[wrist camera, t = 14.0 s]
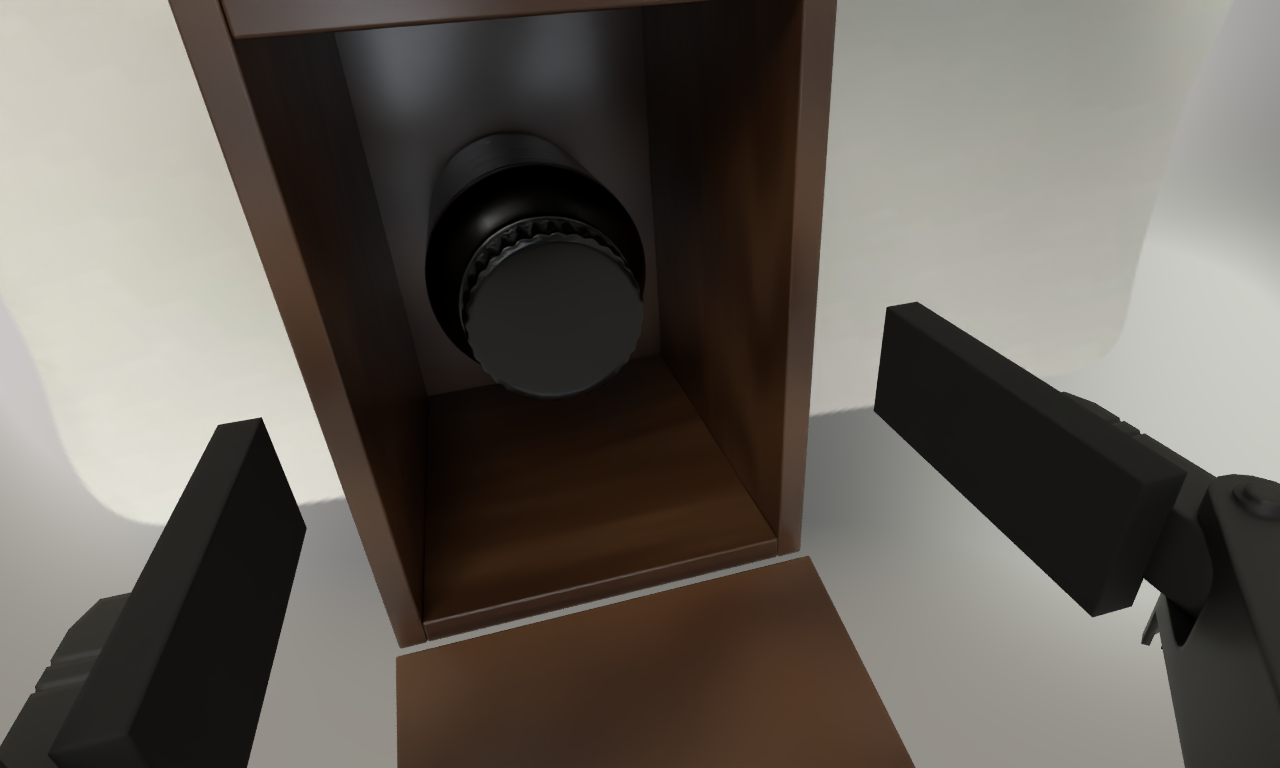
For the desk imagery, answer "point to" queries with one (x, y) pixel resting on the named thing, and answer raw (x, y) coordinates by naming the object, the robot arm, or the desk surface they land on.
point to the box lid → (656, 686)
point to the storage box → (457, 386)
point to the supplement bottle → (534, 267)
